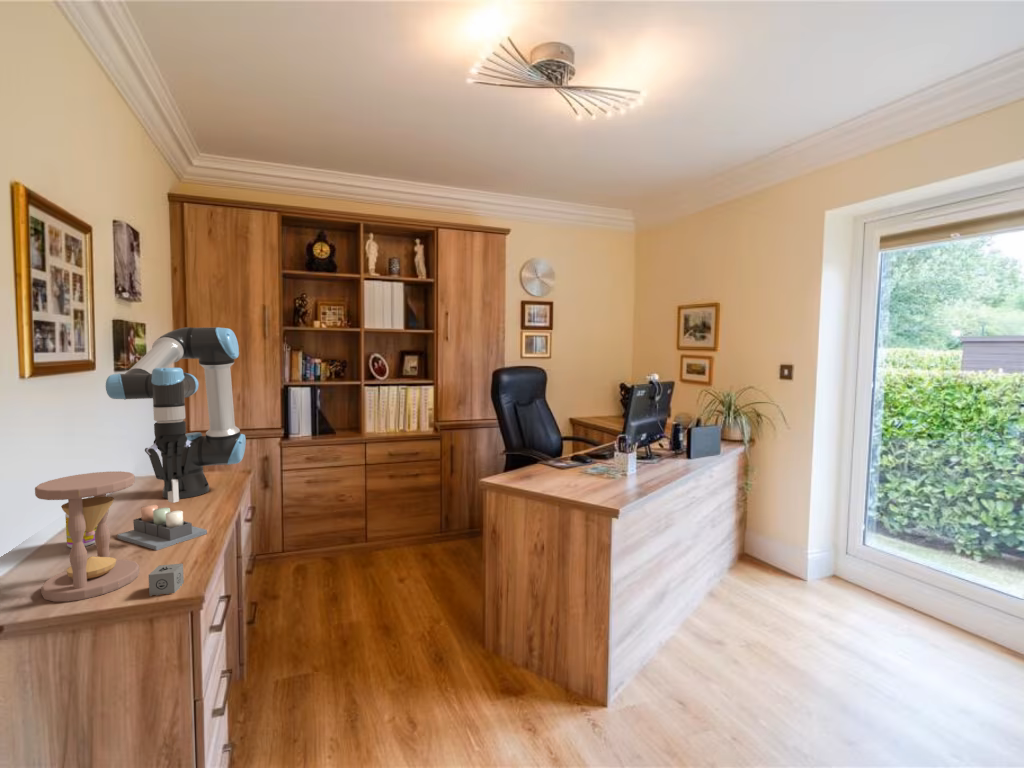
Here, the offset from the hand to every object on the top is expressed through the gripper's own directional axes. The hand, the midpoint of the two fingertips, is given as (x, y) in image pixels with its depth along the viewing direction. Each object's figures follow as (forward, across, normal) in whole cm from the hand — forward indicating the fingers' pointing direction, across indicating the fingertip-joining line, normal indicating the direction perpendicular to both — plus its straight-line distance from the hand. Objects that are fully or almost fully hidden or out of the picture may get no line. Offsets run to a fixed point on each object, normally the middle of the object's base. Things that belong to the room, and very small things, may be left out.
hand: (173, 501), depth 143 cm
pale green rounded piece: (+8, 0, -6) cm, 10 cm away
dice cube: (+12, +19, +30) cm, 38 cm away
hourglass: (+12, +25, +12) cm, 30 cm away
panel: (+11, 0, -6) cm, 13 cm away
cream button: (+8, 0, 0) cm, 8 cm away
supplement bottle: (+12, +14, -21) cm, 27 cm away
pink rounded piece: (+8, 0, -13) cm, 15 cm away
